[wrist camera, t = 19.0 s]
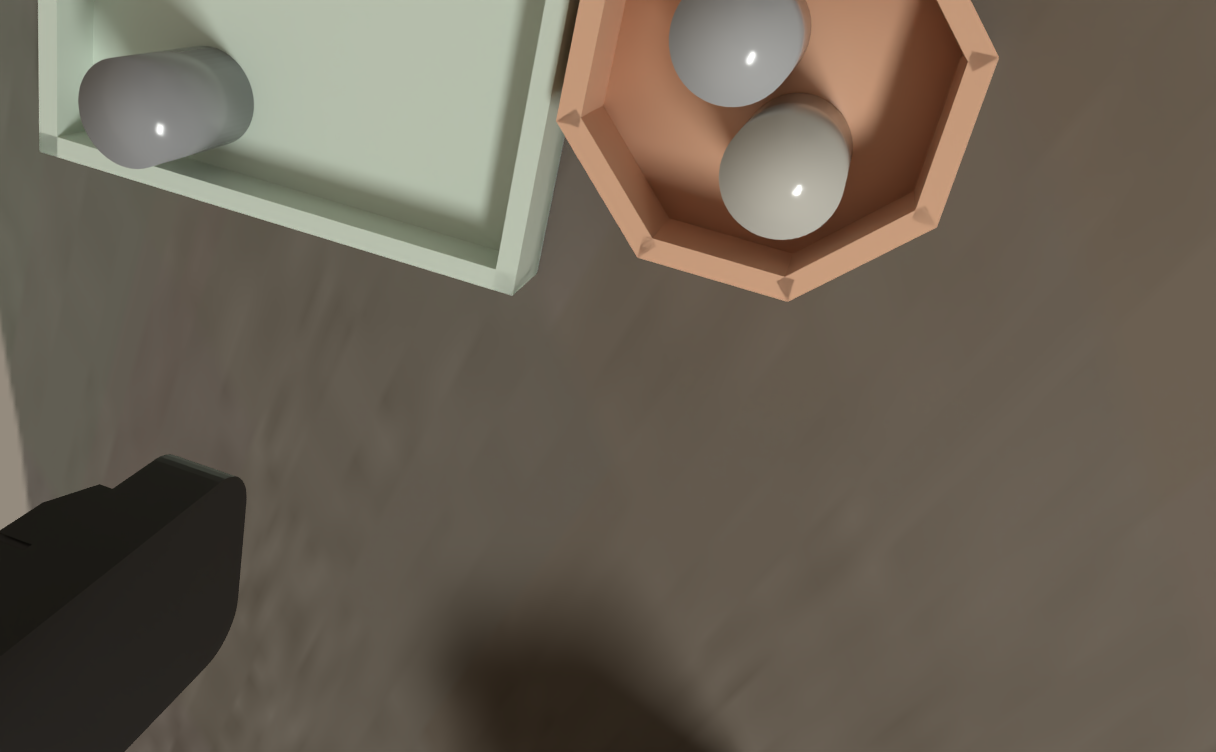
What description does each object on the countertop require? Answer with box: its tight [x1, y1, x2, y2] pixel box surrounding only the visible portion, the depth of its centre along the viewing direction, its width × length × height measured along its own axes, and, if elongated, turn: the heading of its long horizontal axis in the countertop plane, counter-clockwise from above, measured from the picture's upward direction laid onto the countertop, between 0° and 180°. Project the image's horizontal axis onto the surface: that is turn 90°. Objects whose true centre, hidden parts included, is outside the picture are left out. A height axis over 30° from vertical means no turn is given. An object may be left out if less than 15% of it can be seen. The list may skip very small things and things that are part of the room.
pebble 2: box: [669, 0, 811, 107], centre depth 33 cm, size 4×4×5 cm
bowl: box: [556, 0, 999, 302], centre depth 35 cm, size 13×13×4 cm
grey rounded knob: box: [78, 45, 254, 169], centre depth 39 cm, size 4×4×5 cm
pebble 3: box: [719, 93, 853, 240], centre depth 34 cm, size 4×4×5 cm
